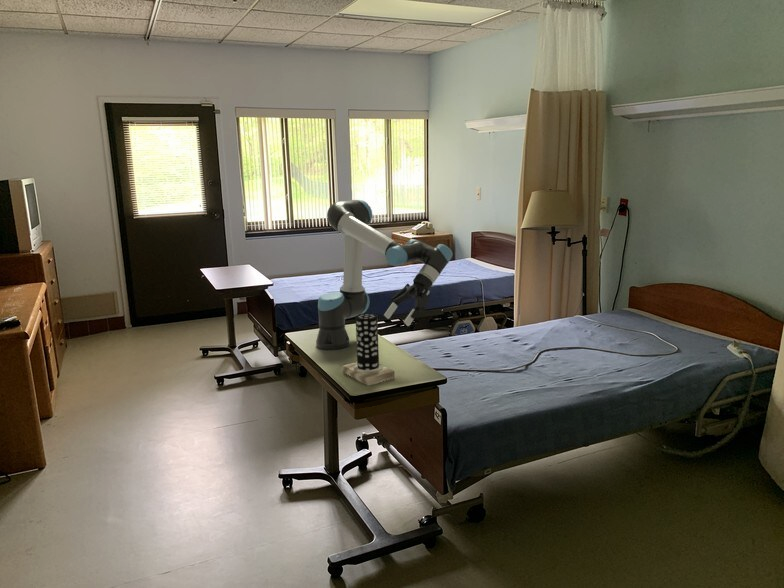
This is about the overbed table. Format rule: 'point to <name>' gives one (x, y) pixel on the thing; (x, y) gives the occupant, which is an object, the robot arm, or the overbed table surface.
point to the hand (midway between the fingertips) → (395, 320)
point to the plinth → (368, 374)
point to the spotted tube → (367, 341)
